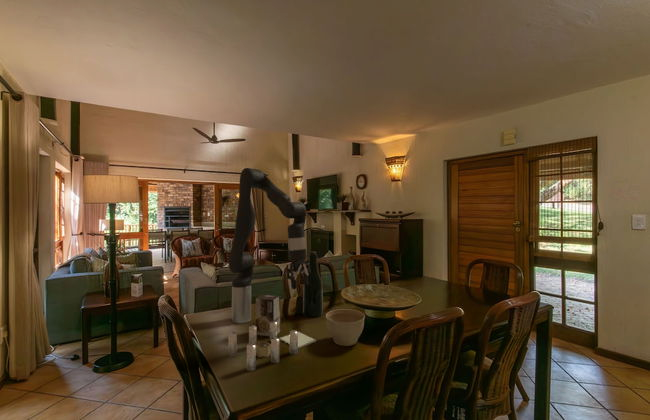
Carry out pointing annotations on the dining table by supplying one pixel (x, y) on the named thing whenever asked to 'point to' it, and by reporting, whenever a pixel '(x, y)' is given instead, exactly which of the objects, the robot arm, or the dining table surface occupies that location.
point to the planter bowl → (345, 326)
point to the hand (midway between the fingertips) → (300, 286)
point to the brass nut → (263, 349)
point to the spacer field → (253, 342)
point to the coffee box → (267, 313)
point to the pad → (299, 340)
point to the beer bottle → (313, 290)
